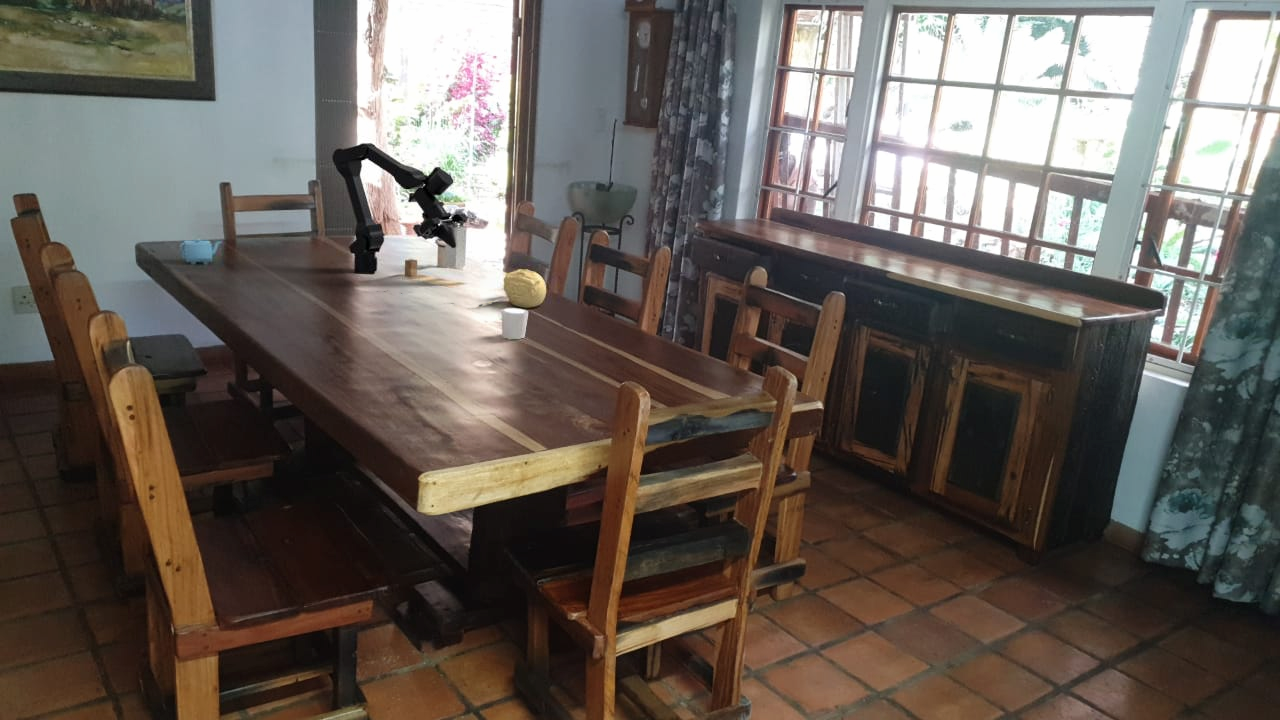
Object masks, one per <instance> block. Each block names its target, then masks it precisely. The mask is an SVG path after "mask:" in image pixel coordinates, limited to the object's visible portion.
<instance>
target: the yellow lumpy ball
mask: <svg viewBox="0 0 1280 720" xmlns="http://www.w3.org/2000/svg"><path fill="white" fill-rule="evenodd" d="M503 291H504V292H505V295H506V297H507V300H508V301H509V302H510V304H511V305H513V306H515V307H518V308H522V309H523V308H524V309H525V308H526V309H529V308H530V309H531V308H535V307H538V306H539V305H541V304H542V303H543V302H544V300H545V299H546V295H547V286H546V282H545V280H544V278H543V277H542V276H541V275H540V274H539V273H538V272H536V271H532V270H529V269H522V268H519V269H516V270H514V271H512V272H507V273H506V274H505V276H504V278H503Z"/></svg>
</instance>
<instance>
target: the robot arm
mask: <svg viewBox="0 0 1280 720" xmlns="http://www.w3.org/2000/svg"><path fill="white" fill-rule="evenodd" d="M331 158H332V162H333V164H334V166H335V169H336V171H337V172H338V173H339V175H341V177H342V178H343V180H344V183H345V186H346V189H347V193H348V197H349V199H350V204H351V207H352V209H353V210H352V211H353V214H354V217H355V220H356V221H355V222H356V227H355V231H354V234H355V240H354V241H353V242H352V243H351V244H350V245H349V246H348V249H349V252H350V254H353V255H354V258H353V259H354V260H353V261H354V262H353V263H354V265H353V266H354V267H353V268H354V269H353V273H355V274H372V275H374V274H375V273H376V272H377V271H378V257H377V255H376V253H380V250H381V248H382V246H383V244H384V243H385V236H386V235H385V233H384V231H383V225H382V224H381V223H377V222H375V220H374V219H373V216H372V211H371V209H370V206H369V201H368V198H367V195H366V191H365V187H364V184H363V181H362V178H361V173H362V172H361V171H362V167H363V163H362V161H363V162H364V161H366V160H368V161H370V162H372V163H373V164H374V165H376V166H377V167H379V168H380V169H381V170H383V171H385V172H386V173H388V174H389V175H391V176H392V177H393V178H394V181H395V182H396V183H397V185H399V186H400V187H401V188H402V189H404V190H405V191H406V190H408V191H409V190H414V192H409V193H408V199H407V202H408V203H414V202H415V203H417V205H418V206H419V207H420V209H421V210H422V213H421V215H422V216H421V217H422V218H423V221H422V222H420V224H414V225H413V227H412V228H413V231H414V232H415V234H416V236H417V237H418V238H419V237H421V238H423V239H424V240H428V239H431V240H432V239H433V238H434V237H435V238H439V239H440V241H444V242H445V243H447V244H448V245H449V246H450V247H452V248H455V247H456V245H455V242H454V240H453V237H452V235H451V233H450V230H449V228H448V226H451V225H453V223H460V226H464V224H465V223H466V222H467V221H468V220H469V218H468V216H467V215H466V213H463V212H462V213H461V212H459V213H455V214H453V213H451V212H449V211H448V212H447V211H446V208H444V205H445V203H444V202H443V201H439V199H438V198H437V196H442V195H443V194H444V193H445V192H446V191H447V190H448V189H449V188H450V187H451V186H452V185H453V183H454V179H453V177H452V175H451V174H450V173H448V172H447V171H446V170H444V169H442V168H441V166H435V167H434V168H433V169H432V171H431V172H430V173H429V174H428V175H426V174H424V172H423V171H422V170H420V169H418V168H416V167H413V166H409V165H406V164H404V163H401V162H400V161H398V160H397V159H395V158H394V157H392V156H391V155H389V154H387V153H386V152H385V151H383V150H381V149H380V148H378V147H377V146H376V145H375V144H373V143H371V142H364V143H360V144H358V145H354V146H351V147H347V148H346V147H345V148H344V147H342V148H336V149H335V150H334V152H333V154H332V156H331Z"/></svg>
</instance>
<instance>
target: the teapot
mask: <svg viewBox="0 0 1280 720" xmlns="http://www.w3.org/2000/svg"><path fill="white" fill-rule="evenodd" d="M220 244H222V241H216V242H215V243H214V245H213V244H212V243H211V241H210V240H201V238H195V239H194V240H184V241H183V243H181V244H180V245H179V250H180V251H181V252H182V254H181V256H182V258H183V259H185V261H186V263H190V265H196V264H197V263H202V264H203V265H209V263H212V262H213V255H214V254H216V252H217V250H218V246H219V245H220ZM183 246H184V249H183Z"/></svg>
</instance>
